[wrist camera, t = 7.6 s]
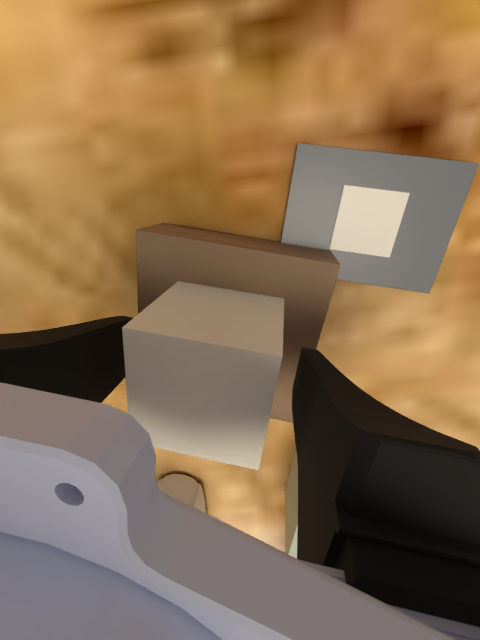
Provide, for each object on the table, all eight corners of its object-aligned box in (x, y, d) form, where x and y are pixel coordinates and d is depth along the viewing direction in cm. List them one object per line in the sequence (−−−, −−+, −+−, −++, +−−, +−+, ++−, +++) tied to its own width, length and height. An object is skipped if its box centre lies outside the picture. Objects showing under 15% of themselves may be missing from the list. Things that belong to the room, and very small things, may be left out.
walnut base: (293, 389, 18) (294, 423, 16) (160, 361, 19) (139, 389, 16) (331, 250, 15) (340, 264, 12) (163, 223, 15) (136, 230, 13)
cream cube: (267, 386, 15) (258, 470, 10) (176, 369, 15) (130, 442, 11) (284, 298, 13) (282, 356, 8) (178, 281, 13) (122, 327, 9)
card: (424, 291, 15) (430, 293, 15) (276, 268, 16) (275, 270, 15) (472, 165, 13) (480, 163, 12) (297, 145, 14) (298, 142, 13)
